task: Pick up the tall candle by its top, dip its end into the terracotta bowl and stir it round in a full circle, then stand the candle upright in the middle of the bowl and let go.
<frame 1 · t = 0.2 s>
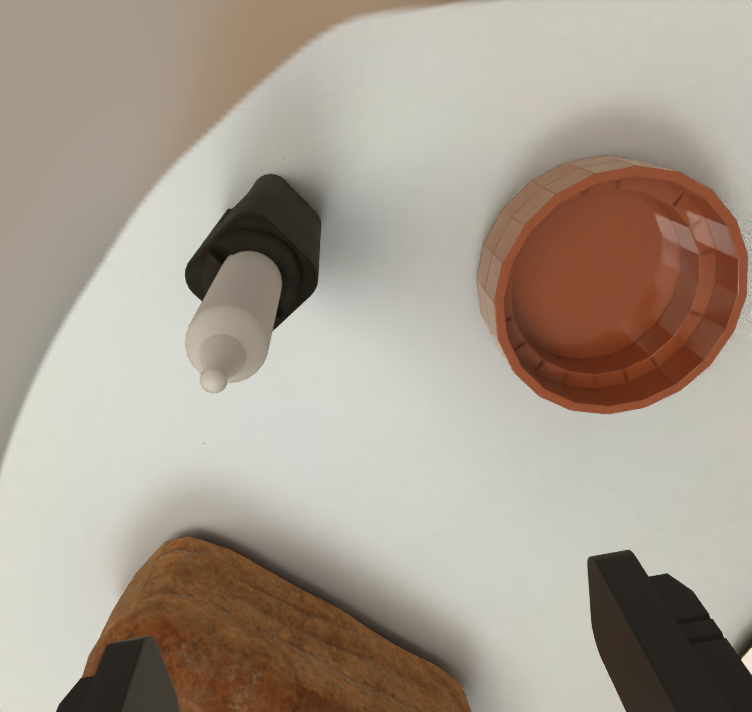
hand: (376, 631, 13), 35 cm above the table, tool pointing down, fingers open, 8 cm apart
bread: (298, 643, 58), on the table
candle: (272, 223, 45), on the table
bowl: (587, 272, 47), on the table
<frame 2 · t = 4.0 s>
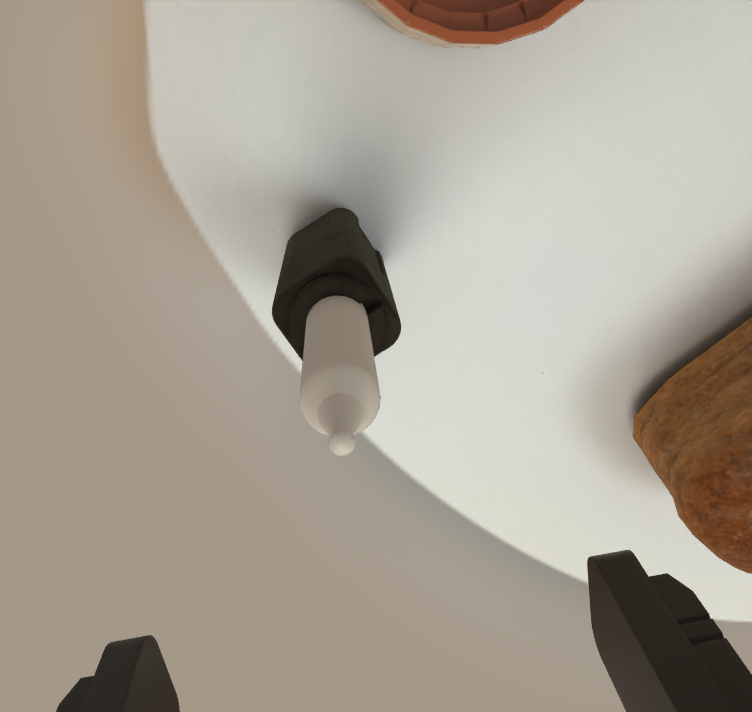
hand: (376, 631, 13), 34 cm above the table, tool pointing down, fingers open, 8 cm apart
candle: (334, 255, 45), on the table
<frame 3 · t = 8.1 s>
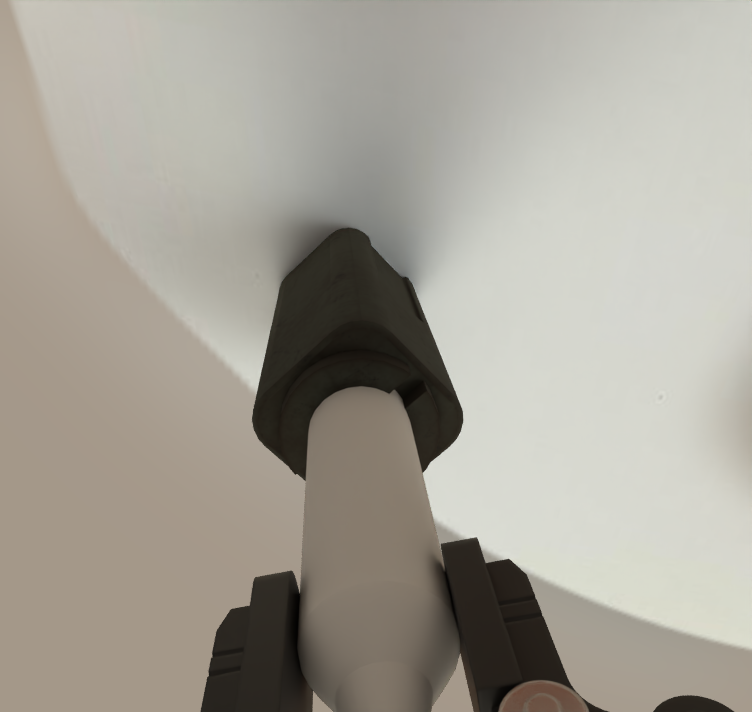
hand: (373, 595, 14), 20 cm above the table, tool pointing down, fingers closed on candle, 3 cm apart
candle: (347, 293, 33), on the table, touching gripper
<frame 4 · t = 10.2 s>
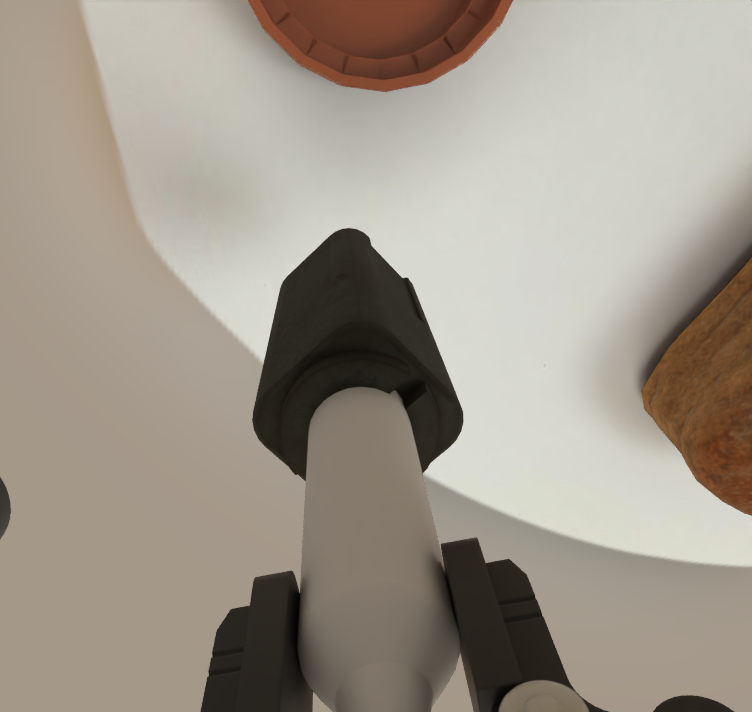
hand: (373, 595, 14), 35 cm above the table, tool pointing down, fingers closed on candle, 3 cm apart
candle: (347, 293, 33), point 15 cm above the table, touching gripper
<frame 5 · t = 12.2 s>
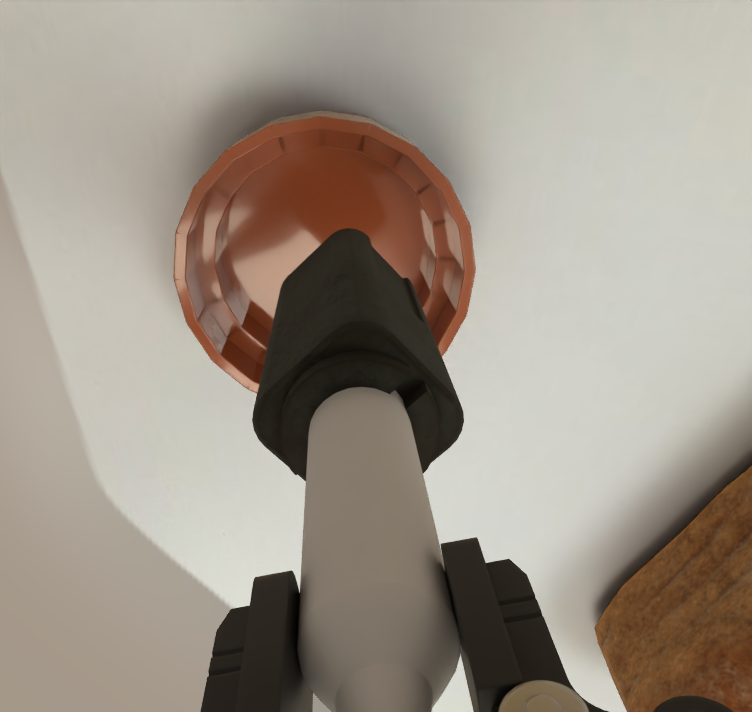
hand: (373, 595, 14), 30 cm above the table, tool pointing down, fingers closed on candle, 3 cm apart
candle: (347, 293, 33), point 10 cm above the table, touching gripper
bowl: (326, 247, 41), on the table
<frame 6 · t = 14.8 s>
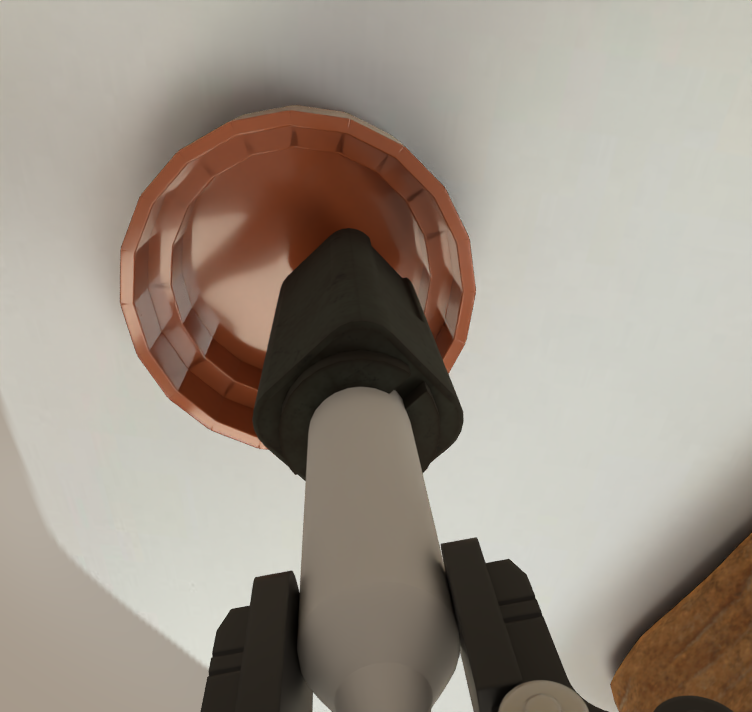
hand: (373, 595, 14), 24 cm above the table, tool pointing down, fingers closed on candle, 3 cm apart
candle: (347, 293, 33), point 4 cm above the table, touching gripper
bowl: (304, 263, 36), on the table
when the fingers open (21 cm above the table, at t = 16.5 s): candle stays where it is, resting on bowl.
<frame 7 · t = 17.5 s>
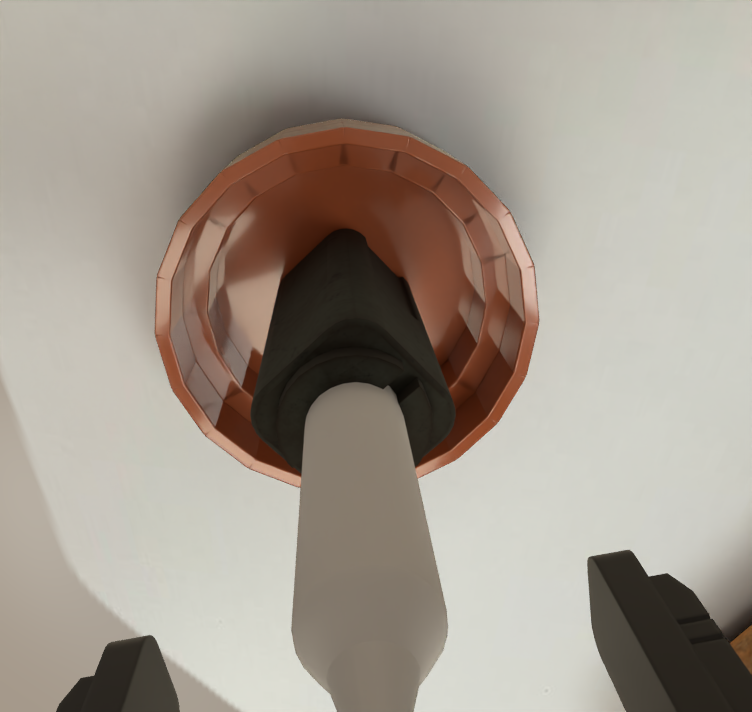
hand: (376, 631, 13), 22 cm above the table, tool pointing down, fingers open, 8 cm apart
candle: (344, 293, 33), point 1 cm above the table, touching bowl
bowl: (346, 286, 34), on the table
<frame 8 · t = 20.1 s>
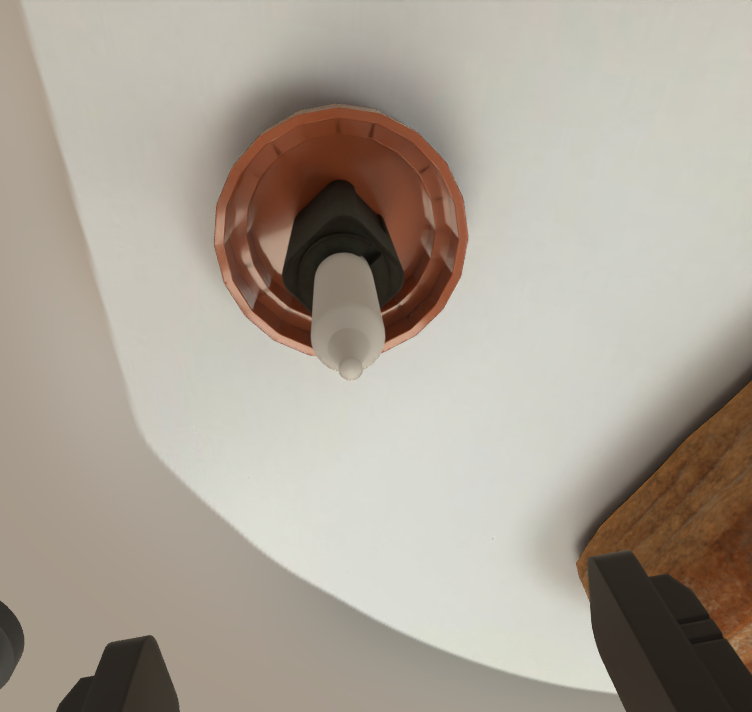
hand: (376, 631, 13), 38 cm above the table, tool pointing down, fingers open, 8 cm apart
bread: (724, 467, 58), on the table
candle: (339, 226, 48), point 1 cm above the table, touching bowl
bowl: (340, 222, 48), on the table
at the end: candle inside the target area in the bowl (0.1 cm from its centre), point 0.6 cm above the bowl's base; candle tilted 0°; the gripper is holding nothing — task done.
